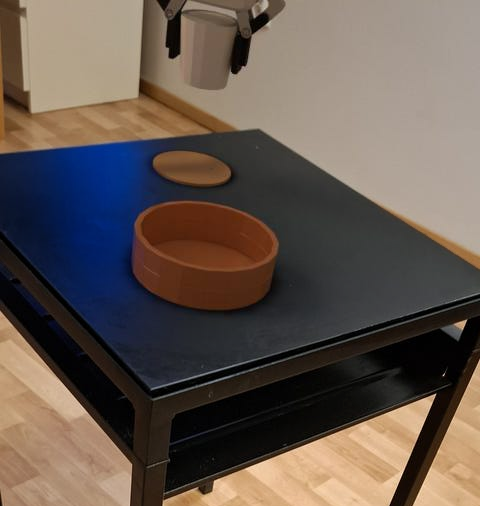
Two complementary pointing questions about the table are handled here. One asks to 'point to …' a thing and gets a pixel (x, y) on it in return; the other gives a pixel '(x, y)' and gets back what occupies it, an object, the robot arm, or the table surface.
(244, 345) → the table surface
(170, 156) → the coaster
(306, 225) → the table surface
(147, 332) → the table surface
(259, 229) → the pan
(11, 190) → the table surface
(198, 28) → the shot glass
